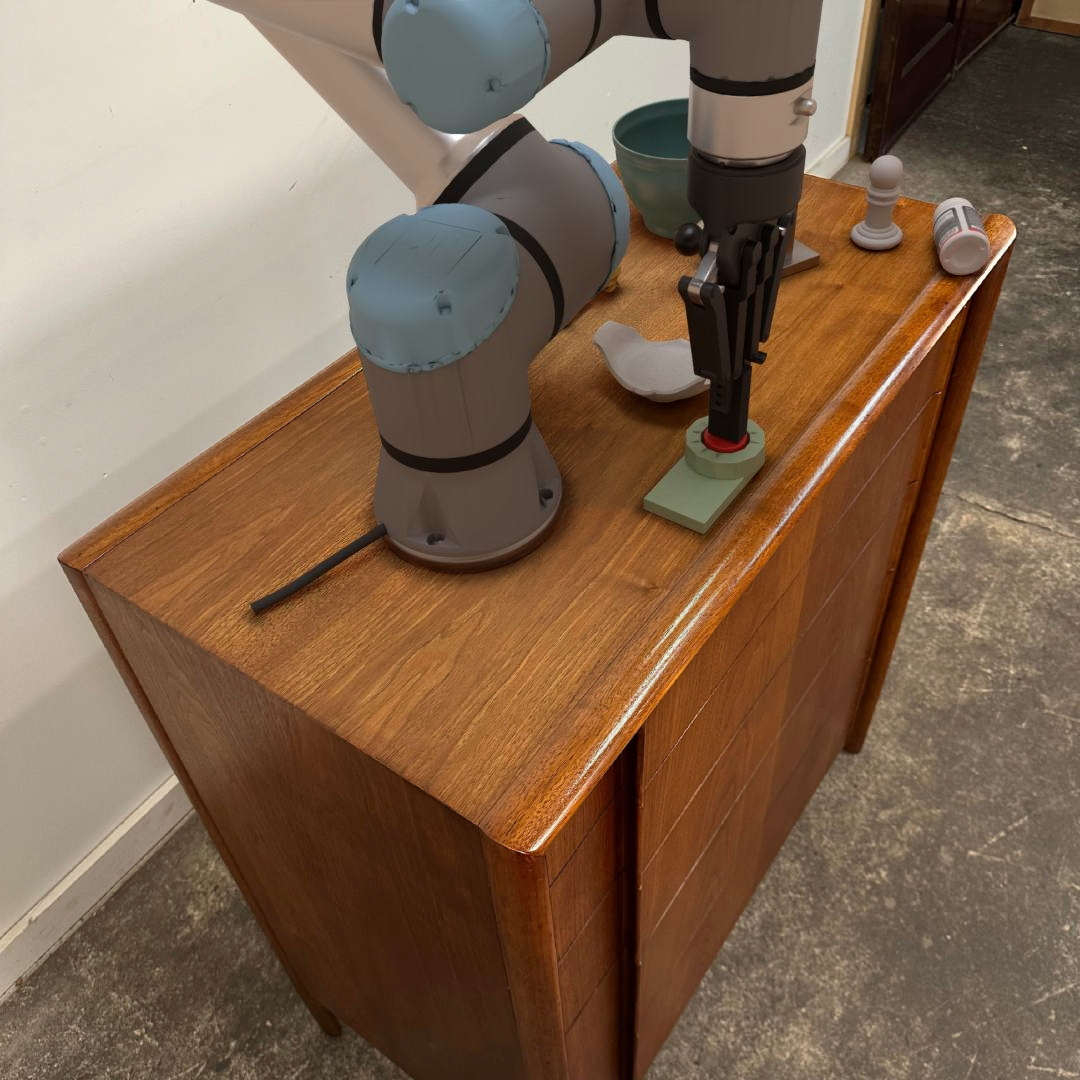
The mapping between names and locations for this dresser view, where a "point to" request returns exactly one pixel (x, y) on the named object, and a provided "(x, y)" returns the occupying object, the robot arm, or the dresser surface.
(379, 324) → the robot arm
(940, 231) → the pill bottle
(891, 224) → the chess piece
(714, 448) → the button
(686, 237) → the lever
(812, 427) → the dresser surface
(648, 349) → the pottery shard
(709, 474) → the control block
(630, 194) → the flower pot
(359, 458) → the dresser surface
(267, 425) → the dresser surface
